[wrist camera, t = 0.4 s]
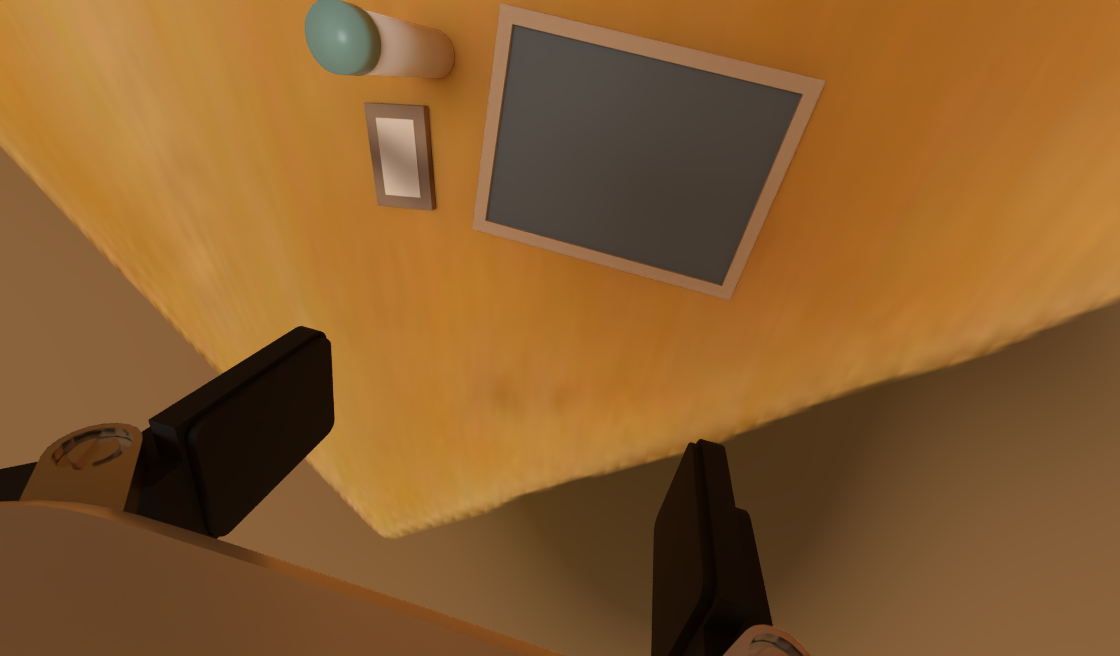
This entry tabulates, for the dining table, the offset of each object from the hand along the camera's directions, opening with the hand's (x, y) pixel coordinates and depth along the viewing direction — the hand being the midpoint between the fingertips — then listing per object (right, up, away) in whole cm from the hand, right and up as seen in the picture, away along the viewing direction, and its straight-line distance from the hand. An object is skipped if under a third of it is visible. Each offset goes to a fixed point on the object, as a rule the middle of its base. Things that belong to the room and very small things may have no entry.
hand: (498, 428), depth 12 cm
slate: (+7, +15, +24) cm, 29 cm away
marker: (-8, +23, +23) cm, 34 cm away
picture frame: (-11, +17, +27) cm, 34 cm away
